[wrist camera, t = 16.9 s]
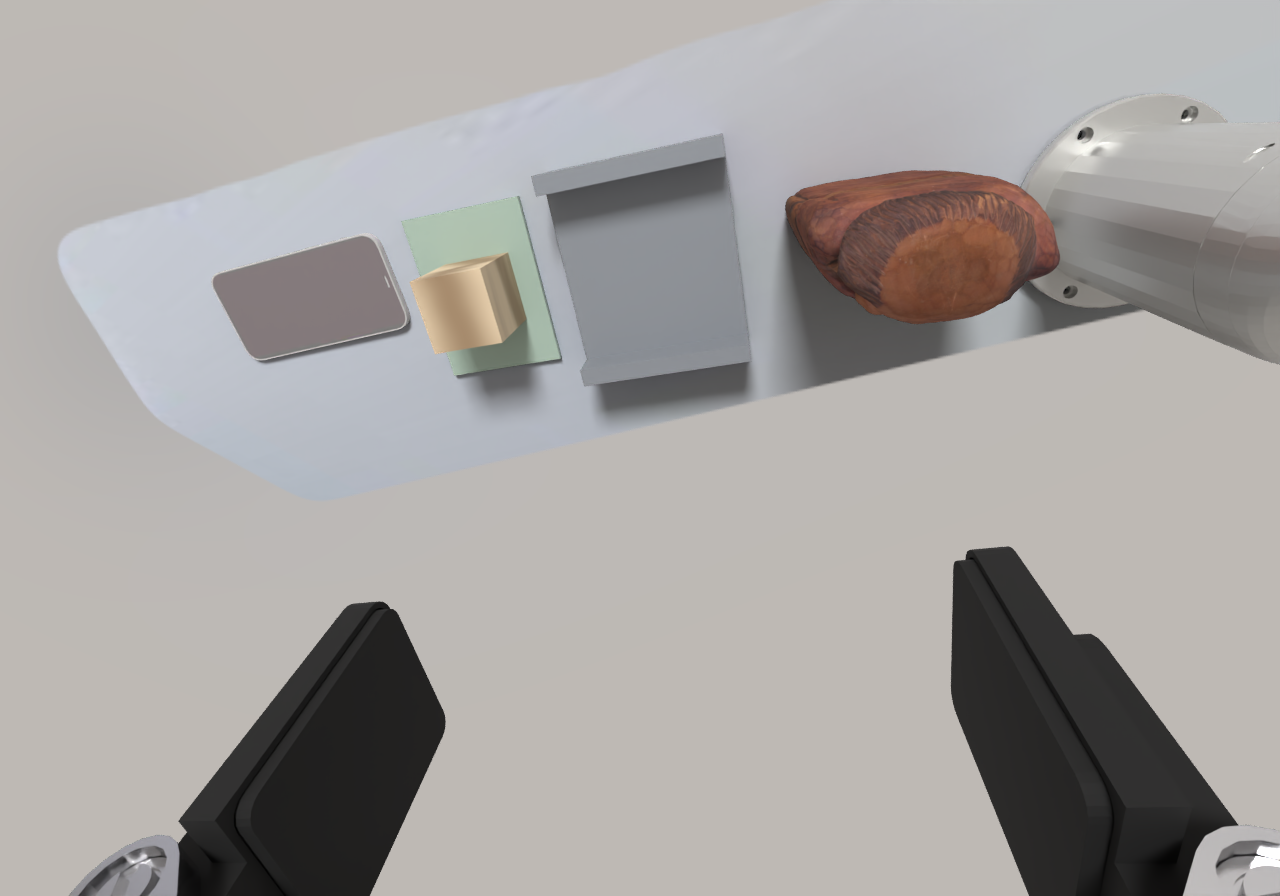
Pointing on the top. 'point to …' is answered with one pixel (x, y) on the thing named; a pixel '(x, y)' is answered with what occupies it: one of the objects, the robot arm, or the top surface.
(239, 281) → the smartphone
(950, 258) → the wooden figurine
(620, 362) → the gray u-shaped channel
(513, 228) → the sage mat
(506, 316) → the beech block
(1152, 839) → the robot arm
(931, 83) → the top surface
